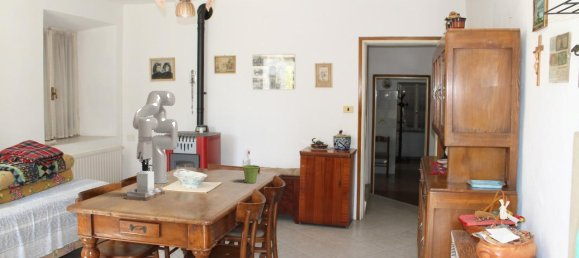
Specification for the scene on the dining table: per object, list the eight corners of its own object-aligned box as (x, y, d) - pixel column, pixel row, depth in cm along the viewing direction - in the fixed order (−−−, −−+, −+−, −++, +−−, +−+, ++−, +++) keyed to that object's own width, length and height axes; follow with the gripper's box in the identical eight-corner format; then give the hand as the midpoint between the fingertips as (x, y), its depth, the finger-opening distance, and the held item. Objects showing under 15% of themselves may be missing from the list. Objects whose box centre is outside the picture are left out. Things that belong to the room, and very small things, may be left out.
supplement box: (154, 192, 277) (154, 171, 276) (147, 195, 270) (147, 173, 269) (143, 191, 279) (143, 170, 278) (136, 194, 272) (136, 172, 271)
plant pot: (258, 184, 315) (258, 167, 314) (241, 183, 315) (241, 167, 314) (260, 181, 327) (260, 165, 326) (243, 180, 327) (243, 164, 326)
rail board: (144, 191, 285) (144, 185, 285) (164, 193, 282) (164, 186, 282) (124, 198, 266) (124, 191, 266) (146, 200, 263) (146, 193, 262)
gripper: (146, 138, 280) (146, 168, 281) (131, 140, 265) (132, 172, 266) (157, 138, 278) (157, 169, 279) (143, 141, 263) (143, 173, 265)
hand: (145, 170), depth 273 cm, fingers closed
